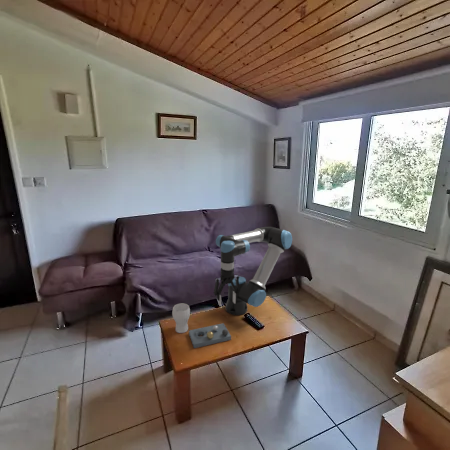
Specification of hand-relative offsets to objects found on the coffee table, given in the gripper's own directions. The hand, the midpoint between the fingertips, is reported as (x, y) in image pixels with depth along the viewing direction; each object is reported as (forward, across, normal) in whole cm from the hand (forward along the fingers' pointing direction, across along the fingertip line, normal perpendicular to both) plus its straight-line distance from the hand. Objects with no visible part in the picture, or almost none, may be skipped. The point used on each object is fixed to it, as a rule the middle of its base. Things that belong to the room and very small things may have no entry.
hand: (226, 303), depth 163 cm
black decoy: (+15, +3, +6) cm, 16 cm away
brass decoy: (+15, +12, +5) cm, 20 cm away
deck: (+19, +11, +1) cm, 22 cm away
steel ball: (+15, +7, 0) cm, 17 cm away
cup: (+20, +25, -12) cm, 34 cm away
